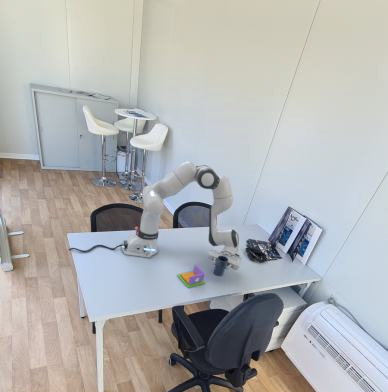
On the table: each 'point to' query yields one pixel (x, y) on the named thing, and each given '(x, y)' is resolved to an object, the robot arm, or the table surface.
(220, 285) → the table surface
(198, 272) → the dollhouse room
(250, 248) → the cable
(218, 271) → the pen cup
